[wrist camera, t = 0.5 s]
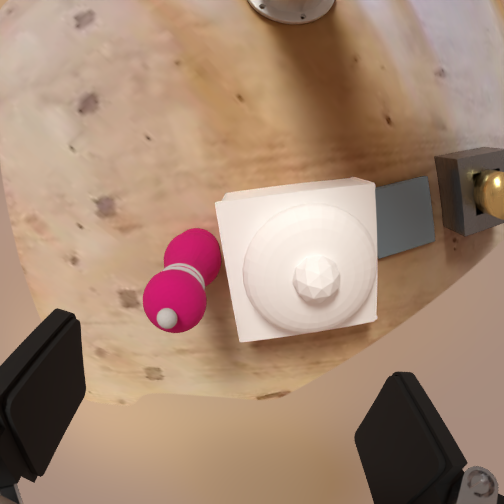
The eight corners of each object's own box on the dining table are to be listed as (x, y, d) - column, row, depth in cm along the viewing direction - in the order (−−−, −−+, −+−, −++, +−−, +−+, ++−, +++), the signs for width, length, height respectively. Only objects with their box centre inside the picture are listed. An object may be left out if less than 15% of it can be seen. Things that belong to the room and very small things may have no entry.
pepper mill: (232, 259, 45) (224, 339, 26) (189, 282, 46) (156, 368, 27) (206, 214, 43) (176, 267, 24) (162, 240, 44) (108, 305, 25)
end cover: (451, 169, 40) (488, 176, 32) (480, 163, 40) (517, 169, 31) (456, 210, 42) (492, 224, 33) (484, 201, 42) (520, 214, 33)
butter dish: (358, 293, 47) (399, 351, 32) (241, 310, 48) (238, 379, 33) (353, 176, 42) (406, 192, 27) (221, 192, 42) (206, 216, 27)
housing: (434, 156, 41) (456, 159, 35) (483, 146, 40) (507, 149, 34) (443, 226, 44) (464, 236, 38) (490, 211, 43) (512, 219, 37)
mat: (365, 190, 42) (367, 191, 41) (424, 175, 41) (427, 176, 41) (376, 256, 45) (378, 258, 44) (432, 239, 44) (435, 240, 44)
